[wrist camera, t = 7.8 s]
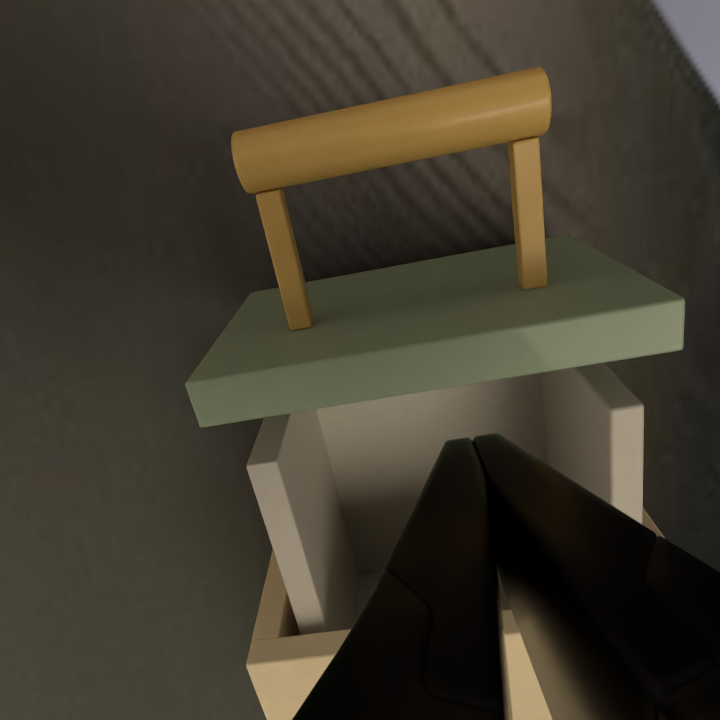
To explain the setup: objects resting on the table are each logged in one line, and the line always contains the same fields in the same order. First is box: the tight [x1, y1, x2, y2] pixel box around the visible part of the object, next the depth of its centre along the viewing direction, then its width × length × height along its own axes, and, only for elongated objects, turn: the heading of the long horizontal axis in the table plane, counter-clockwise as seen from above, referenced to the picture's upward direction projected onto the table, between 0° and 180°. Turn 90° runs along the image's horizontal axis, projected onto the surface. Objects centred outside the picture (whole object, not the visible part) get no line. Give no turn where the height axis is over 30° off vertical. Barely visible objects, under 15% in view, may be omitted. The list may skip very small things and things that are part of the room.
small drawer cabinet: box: [246, 508, 664, 720], centre depth 21 cm, size 14×12×9 cm
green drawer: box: [185, 67, 685, 635], centre depth 17 cm, size 18×11×7 cm, turn 11°
